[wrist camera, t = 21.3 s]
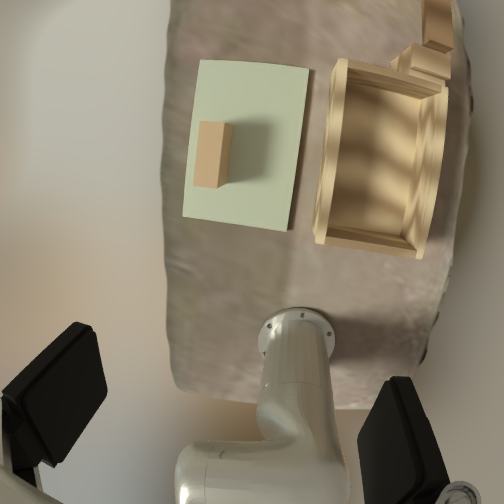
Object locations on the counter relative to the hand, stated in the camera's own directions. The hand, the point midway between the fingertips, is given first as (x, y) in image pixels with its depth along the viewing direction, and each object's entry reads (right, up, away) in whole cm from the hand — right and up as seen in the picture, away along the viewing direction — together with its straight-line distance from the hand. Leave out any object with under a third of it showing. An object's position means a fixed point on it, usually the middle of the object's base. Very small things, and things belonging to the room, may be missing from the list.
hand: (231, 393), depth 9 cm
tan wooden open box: (+17, +19, +30) cm, 40 cm away
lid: (0, +20, +33) cm, 38 cm away
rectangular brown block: (+22, +31, +15) cm, 41 cm away
